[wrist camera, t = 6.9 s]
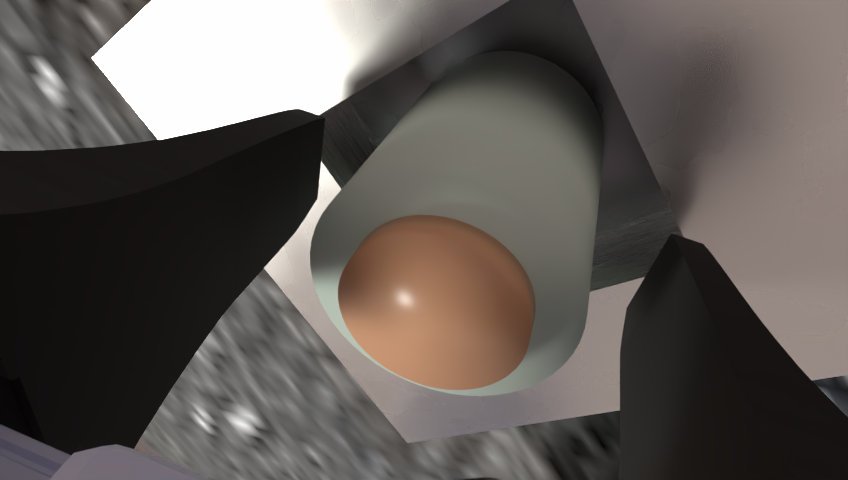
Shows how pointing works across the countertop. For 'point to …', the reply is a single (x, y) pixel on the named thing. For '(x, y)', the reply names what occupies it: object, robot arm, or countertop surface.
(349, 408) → the countertop surface
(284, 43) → the beige square slab
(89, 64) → the countertop surface
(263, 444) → the countertop surface
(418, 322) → the cylinder with orange cap
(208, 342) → the countertop surface
